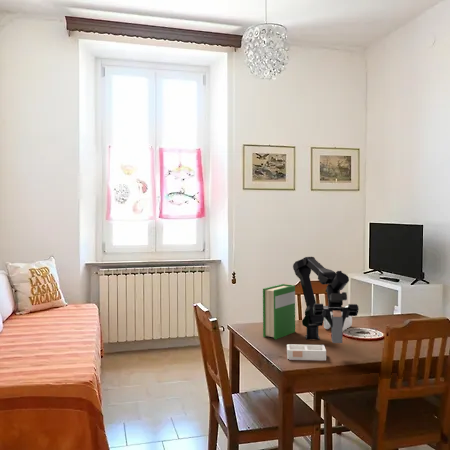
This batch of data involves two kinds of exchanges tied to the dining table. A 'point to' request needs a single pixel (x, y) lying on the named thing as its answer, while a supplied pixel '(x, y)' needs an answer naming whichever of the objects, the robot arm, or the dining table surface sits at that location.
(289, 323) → the hardback book
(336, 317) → the gray rectangular block
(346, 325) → the cable organizer
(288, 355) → the socket strip
